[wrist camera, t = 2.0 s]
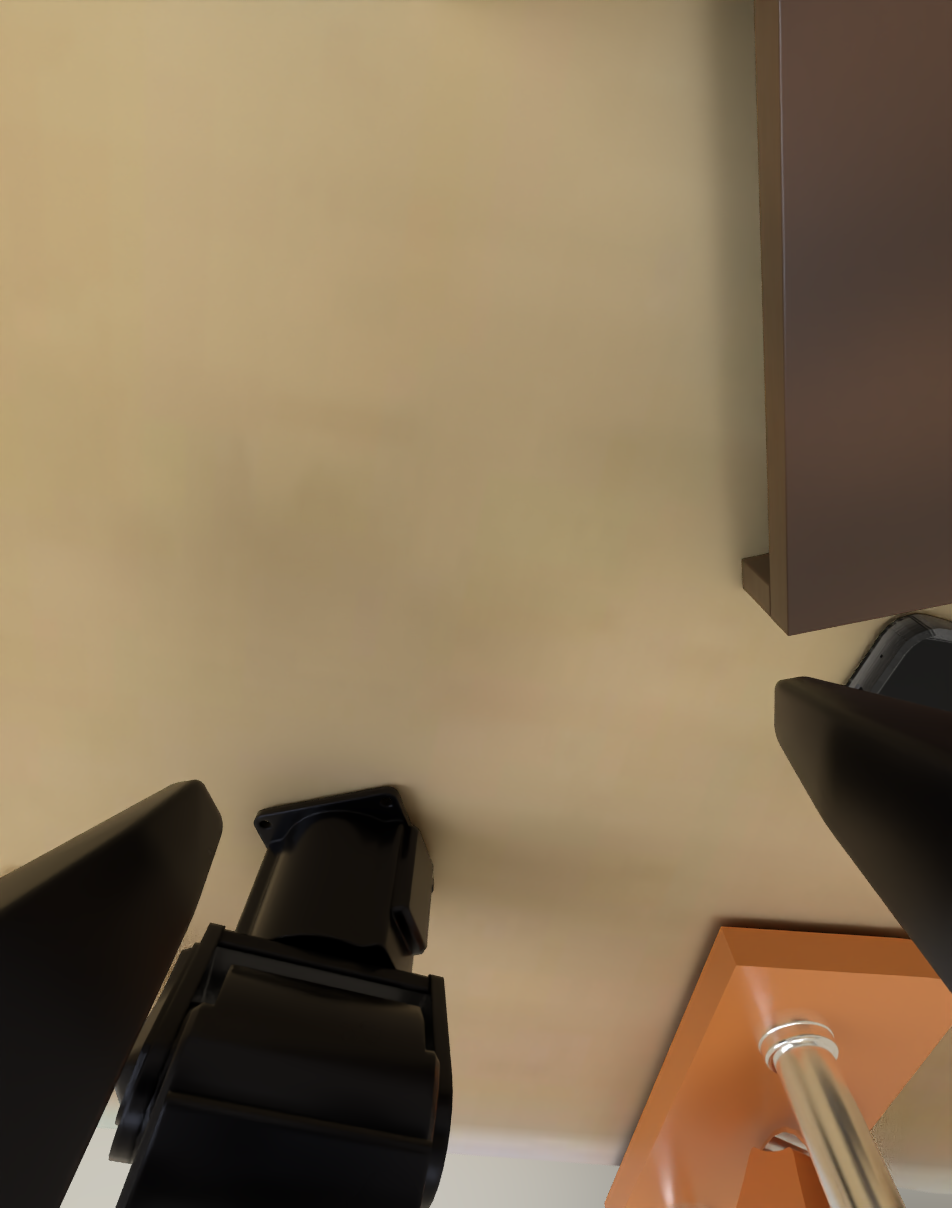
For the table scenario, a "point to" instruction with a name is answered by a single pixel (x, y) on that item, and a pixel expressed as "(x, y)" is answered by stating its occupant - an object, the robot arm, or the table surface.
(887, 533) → the desk shelf
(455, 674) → the table surface
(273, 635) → the table surface
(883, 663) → the phone
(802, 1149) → the desk clock
